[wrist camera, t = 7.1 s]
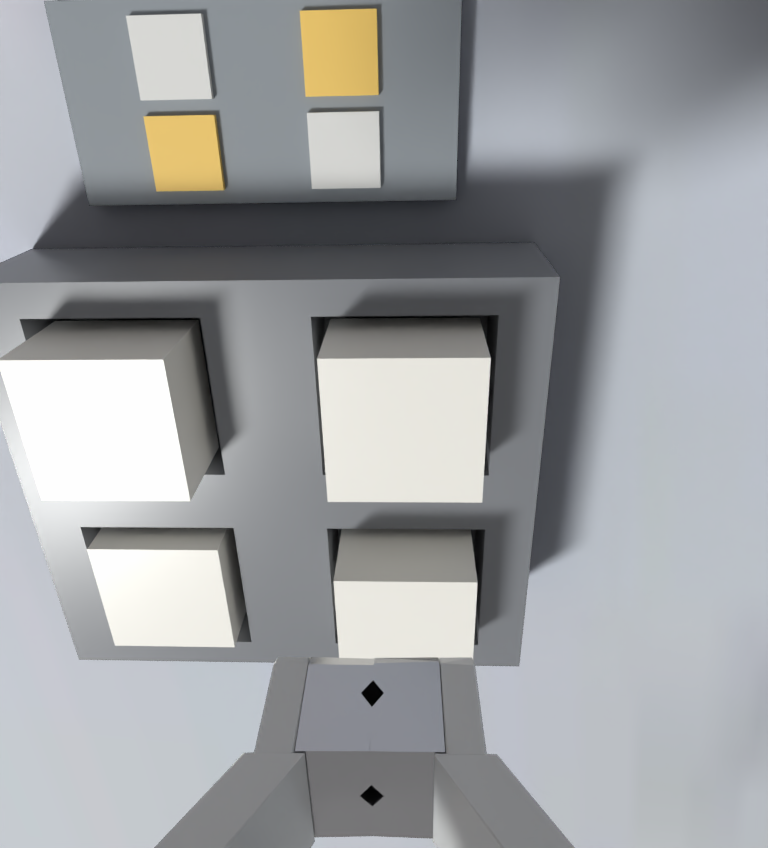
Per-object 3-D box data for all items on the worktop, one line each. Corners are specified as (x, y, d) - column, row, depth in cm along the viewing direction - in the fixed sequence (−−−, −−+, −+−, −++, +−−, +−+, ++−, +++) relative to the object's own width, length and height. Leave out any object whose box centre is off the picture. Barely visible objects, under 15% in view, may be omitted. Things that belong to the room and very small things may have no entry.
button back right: (469, 520, 22) (477, 582, 19) (464, 615, 24) (471, 683, 21) (343, 519, 22) (333, 581, 19) (349, 614, 24) (340, 681, 21)
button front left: (198, 319, 19) (163, 359, 16) (218, 447, 21) (190, 501, 18) (54, 321, 19) (-4, 360, 16) (88, 446, 21) (41, 500, 18)
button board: (534, 242, 20) (560, 277, 17) (504, 588, 27) (519, 666, 23) (31, 249, 21) (-46, 283, 17) (122, 584, 28) (79, 659, 24)
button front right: (479, 317, 18) (490, 357, 16) (473, 447, 20) (482, 502, 18) (330, 318, 19) (316, 358, 16) (338, 446, 21) (327, 501, 18)
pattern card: (460, -9, 17) (462, -13, 17) (454, 196, 20) (456, 201, 19) (54, 3, 18) (40, 0, 17) (97, 202, 20) (86, 206, 20)
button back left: (239, 496, 23) (217, 550, 21) (253, 587, 25) (234, 647, 22) (123, 495, 23) (86, 549, 21) (146, 586, 25) (114, 645, 23)
